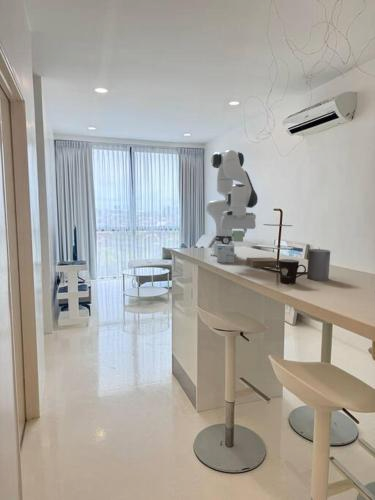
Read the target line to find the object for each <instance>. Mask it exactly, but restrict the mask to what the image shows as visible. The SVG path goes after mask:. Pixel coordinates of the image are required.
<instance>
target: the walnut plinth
mask: <svg viewBox="0 0 375 500" xmlns="http://www.w3.org/2000/svg"><path fill="white" fill-rule="evenodd" d="M245 263H246V265H247V266H249V267H250V268H252V269H265V268H264V267H276V265H277V258H275V257H246V262H245ZM278 265H279V261H278Z"/></svg>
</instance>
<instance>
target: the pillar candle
mask: <svg viewBox="0 0 375 500" xmlns="http://www.w3.org/2000/svg"><path fill="white" fill-rule="evenodd" d="M307 255H308V257H307V268H306V271H307V272H306V279H308V280H310V281H311V280H313V281H318V282H319V281H320V282H321V281H324V282H325V281H328V280H329V278H330V277H329V275H330V261H331V250H329V249H323V248H321V247H318V248H311V249H308V254H307Z"/></svg>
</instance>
